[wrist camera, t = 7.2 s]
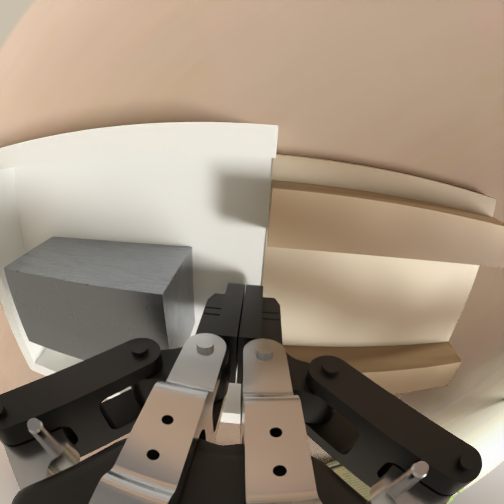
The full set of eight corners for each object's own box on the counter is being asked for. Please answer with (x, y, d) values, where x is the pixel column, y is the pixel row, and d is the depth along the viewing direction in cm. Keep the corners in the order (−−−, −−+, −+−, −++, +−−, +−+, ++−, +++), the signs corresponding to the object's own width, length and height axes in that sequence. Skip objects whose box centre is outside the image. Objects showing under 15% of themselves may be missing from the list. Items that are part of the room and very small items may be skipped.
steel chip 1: (52, 236, 12) (3, 268, 8) (111, 240, 12) (63, 279, 8) (67, 300, 14) (29, 341, 10) (123, 312, 14) (88, 361, 10)
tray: (15, 147, 11) (-26, 156, 8) (274, 130, 11) (278, 125, 8) (53, 340, 16) (30, 369, 13) (251, 379, 16) (248, 424, 13)
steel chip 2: (111, 240, 12) (63, 280, 8) (192, 246, 12) (162, 294, 8) (123, 312, 14) (88, 361, 10) (195, 322, 13) (174, 381, 10)
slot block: (272, 153, 11) (275, 157, 8) (485, 195, 11) (520, 210, 8) (252, 369, 16) (250, 408, 13) (424, 365, 16) (440, 396, 13)
